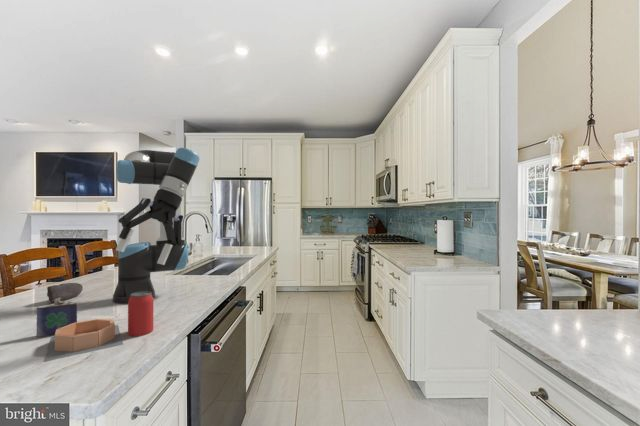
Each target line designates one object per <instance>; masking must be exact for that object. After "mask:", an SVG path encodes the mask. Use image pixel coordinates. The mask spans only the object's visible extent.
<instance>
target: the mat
mask: <svg viewBox="0 0 640 426" xmlns="http://www.w3.org/2000/svg"><path fill="white" fill-rule="evenodd" d="M122 345H124V342H123V339H122V334H121V332H120V327H119V324H115V338H114V339H112V340H110V341H108V342H106V343H104V344H102V345H100V346H98V347H93V348H88V349H84V350H79V351H74V352H68V351H55V350H54V348H55V336H51V337H50V340H49V343H48V346H47V350H46V353H45V357H44V360H43V362H44V363H45V362H49V361H55V360H60V359H64V358H67V357H72V356H76V355H77V356H78V355H81V354H86V353H91V352H96V351H100V350H105V349H108V348H113V347H119V346H122Z"/></svg>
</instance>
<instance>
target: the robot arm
mask: <svg viewBox="0 0 640 426" xmlns="http://www.w3.org/2000/svg"><path fill="white" fill-rule="evenodd" d="M199 162H200V155H199V154H197V153H196V151H194V150H192V149H189V148H186V147H178V148H177V149H176V151H175V152H174V151H173V152H171V151H161V150H151V149H141V150H135V151H132V152H129V153H128V154H126V156H125V157H124V159H119V160H117V162H116V180H117V182H118V183H122V184H128V185H132V184H134V185H135V184H136V185H153V186H154V185H155V186H159V188H158V189H156V190H157V191H156V193H155V195H154V196H153V201H152V200H151V198H146V197H143V198H141V200H140V202H139V203H138V204H136V206H135V207H133V208H132V209H130V210H129V211H128V212H126V213H125V214H124V215H123V216H122V217H120V218H119V219H118V223H120V224H121V227H122V229H121V231H120V233H119V236H118V238H119V239H120V240H119V242H118V243H117V246H116V248H115V251H117V252H118V254H117V260H118V261H117V262H118V265H117V267H118V269H117V284H116V287H115V290H114V292H113V294H112V302H113V303H115V304H122V305H123V304H128V301H129V298H130V295H131V294H132V293H135V292H141V291H150V292H151V294H152V296H153V299H154V298H155V297H156V291H155V288H154V285H153V282H152V279H151V274H152V273H158V272H159V273H161V272H171V271H180V270H184V269H185V268H186V267H187V264H188V260H189V253H190V246H189V243H186V239H185V238H184V237H182V236H183V235H182V225H183V224H182V222H183V219H184V216H183V215H182V201H183V198H184V197H185V194H186V191H188V187H189V185H190V182H191V180H192V177H193V176H194V173H195V171H196V169H197V167H198V164H199ZM148 207H149V210H148V211H146V212H144V213H143V214H142V215H140V213H142V212H143V211H144V210H146V209H147V208H148ZM138 215H139V216H138ZM150 219H153V220H157V222H159V238H157V239H156V240H155V244H153V245H152V244H151V241H144V242H136V243H130V244H129V241H130V240H131V237H132V236H133V234H134V231H135V230H134V229H132V228H134V227H136V226H138V225H141V224H142V223H144V222H146V221H148V220H150Z"/></svg>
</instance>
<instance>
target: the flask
mask: <svg viewBox="0 0 640 426" xmlns="http://www.w3.org/2000/svg"><path fill="white" fill-rule="evenodd" d="M54 301H55V302H53V303H54V304H52V303H51V304H46V305H45V304H44V305H40V306H37V307H36V325H35V327H36V332H35V333H36V335H35V337H36V338H42V337H49V336H55V332H56V330H57V329H59V328H61V327H64V326H67V325H69V324H72V323H75V322H78V304H77V302H76V301H70V300H68V301H60V298H57V299H55V300H54Z"/></svg>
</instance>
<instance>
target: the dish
mask: <svg viewBox="0 0 640 426" xmlns="http://www.w3.org/2000/svg"><path fill="white" fill-rule="evenodd" d="M115 325H116V324H115V320H114V319H111V318H110V319H109V318H94V319H89V320H88V319H87V320H82V321H77V322H75V323H72V324H69V325H67V326H64V327H61V328H59V329H57V330H56V332H55V335H54V337H55V348H54V350H55V351H68V352H74V351H79V350H84V349H88V348H93V347H98V346H100V345H102V344H104V343H106V342H108V341H110V340H112V339H114V338H115Z"/></svg>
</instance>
